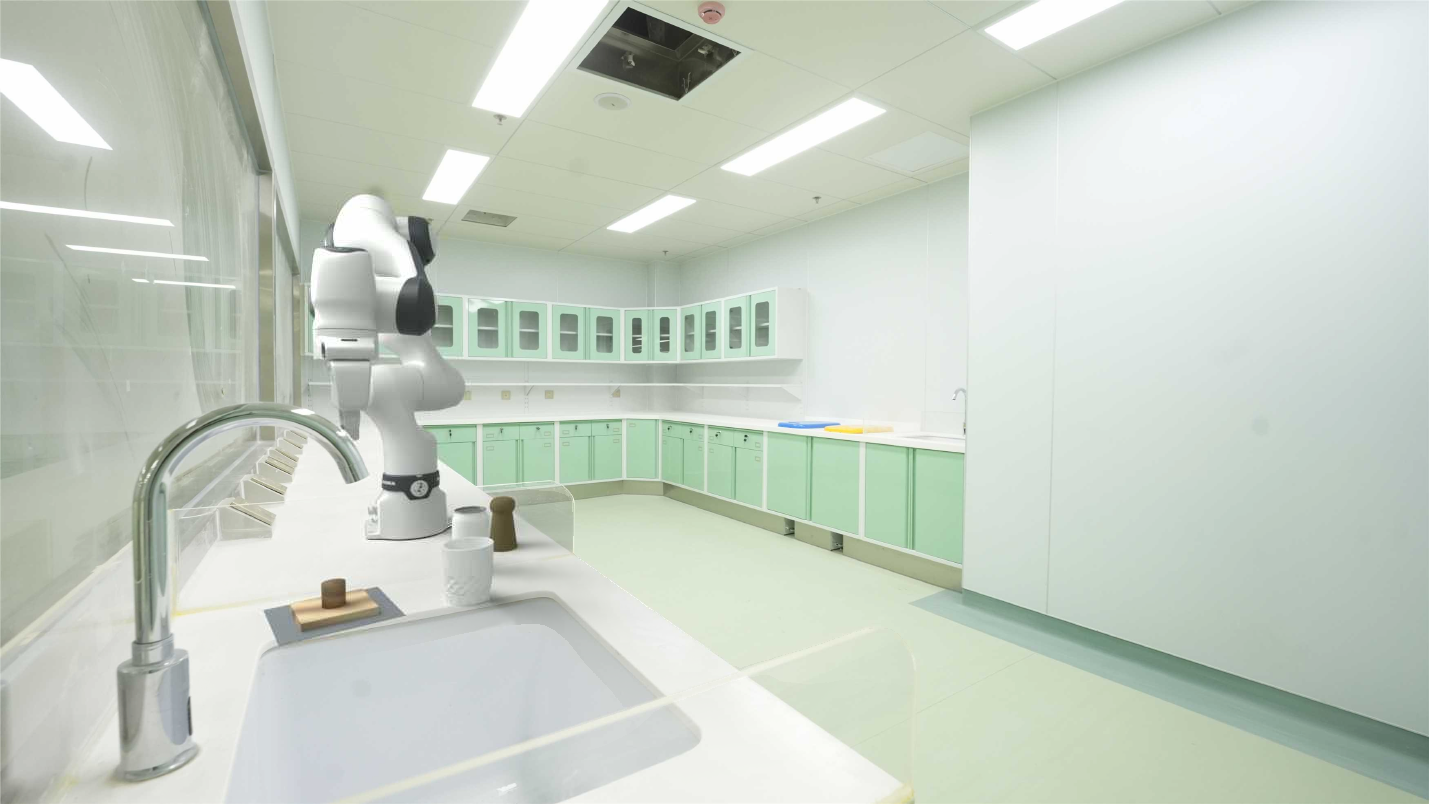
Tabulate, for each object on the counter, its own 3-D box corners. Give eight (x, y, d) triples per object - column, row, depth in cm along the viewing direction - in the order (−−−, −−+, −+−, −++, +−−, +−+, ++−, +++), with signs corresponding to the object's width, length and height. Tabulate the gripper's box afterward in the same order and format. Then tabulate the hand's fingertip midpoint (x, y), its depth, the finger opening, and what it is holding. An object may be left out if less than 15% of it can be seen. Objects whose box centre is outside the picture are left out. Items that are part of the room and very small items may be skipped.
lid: (289, 610, 95) (289, 580, 95) (362, 595, 102) (361, 567, 102) (301, 632, 88) (300, 599, 88) (378, 614, 95) (378, 583, 94)
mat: (263, 614, 96) (263, 609, 96) (377, 590, 106) (377, 586, 106) (279, 651, 84) (278, 645, 84) (405, 620, 95) (405, 614, 95)
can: (476, 578, 113) (475, 514, 113) (444, 575, 115) (444, 512, 114) (495, 567, 120) (495, 506, 119) (465, 564, 121) (465, 504, 120)
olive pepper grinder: (493, 553, 128) (493, 501, 128) (483, 546, 133) (483, 496, 132) (521, 548, 132) (521, 497, 132) (511, 542, 137) (511, 493, 136)
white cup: (502, 603, 102) (501, 543, 101) (453, 616, 96) (452, 553, 96) (482, 590, 108) (482, 533, 107) (435, 601, 102) (435, 542, 102)
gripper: (320, 352, 103) (322, 434, 103) (325, 346, 86) (329, 444, 87) (363, 352, 106) (365, 432, 107) (377, 347, 90) (380, 441, 90)
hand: (349, 438), depth 97 cm, fingers open, 8 cm apart
